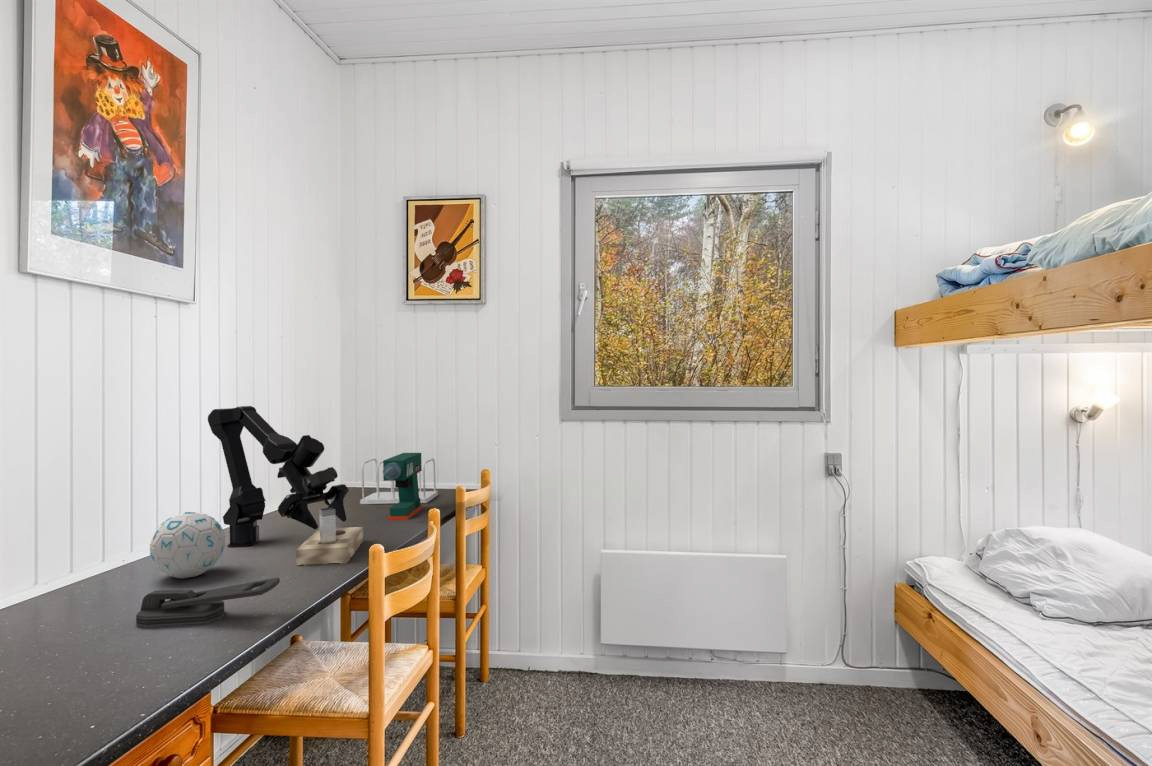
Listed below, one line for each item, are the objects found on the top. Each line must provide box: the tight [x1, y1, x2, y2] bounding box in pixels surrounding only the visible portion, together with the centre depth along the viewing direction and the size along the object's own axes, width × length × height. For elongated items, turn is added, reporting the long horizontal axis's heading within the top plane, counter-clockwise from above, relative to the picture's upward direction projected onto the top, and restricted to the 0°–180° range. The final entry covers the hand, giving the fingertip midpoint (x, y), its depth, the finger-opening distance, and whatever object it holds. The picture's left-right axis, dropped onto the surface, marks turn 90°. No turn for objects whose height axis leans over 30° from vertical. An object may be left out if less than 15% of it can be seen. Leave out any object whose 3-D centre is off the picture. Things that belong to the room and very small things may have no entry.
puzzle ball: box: [149, 511, 226, 579], centre depth 146 cm, size 15×15×15 cm
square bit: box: [318, 507, 337, 544], centre depth 161 cm, size 3×3×12 cm
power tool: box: [382, 452, 423, 521], centre depth 206 cm, size 32×7×20 cm, turn 179°
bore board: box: [295, 526, 364, 565], centre depth 165 cm, size 12×22×4 cm, turn 9°
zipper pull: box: [135, 577, 281, 629], centre depth 120 cm, size 9×7×25 cm
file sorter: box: [359, 457, 439, 505], centre depth 239 cm, size 25×17×16 cm
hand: (331, 524), depth 160 cm, fingers open, 9 cm apart
